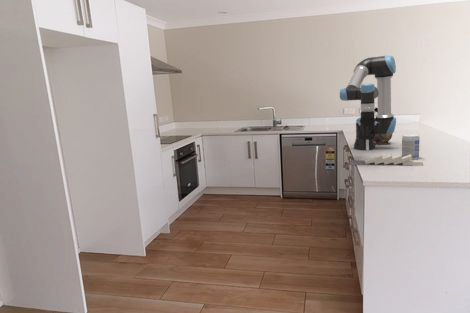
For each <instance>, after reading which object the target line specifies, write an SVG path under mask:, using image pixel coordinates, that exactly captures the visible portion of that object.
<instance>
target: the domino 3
mask: <svg viewBox="0 0 470 313" xmlns="http://www.w3.org/2000/svg"><path fill="white" fill-rule="evenodd" d="M392 157H393V159H391V160H388V161H385V162H384V164H385V165H386V164H389V163H392V162H395V161H398V160H401V159H402V154H398V155H395V156H392Z"/></svg>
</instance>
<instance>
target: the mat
mask: <svg viewBox="0 0 470 313" xmlns="http://www.w3.org/2000/svg"><path fill="white" fill-rule="evenodd" d="M365 160H366V159H365ZM365 160H364V159H363V160H360V159H357V160H353V159H351V160H350V162H349V166H386V167H389V166H390V167H391V166H392V167H394V166H395V167H413V166H414V165H403V162H402V163H399V164H396V165H394V163H393V162H392V163H389V164H386V165H385V164H384V162H382V163H379V164H376V165H375V163H374V162H372V163H369V164H366V163H365Z"/></svg>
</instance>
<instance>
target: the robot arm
mask: <svg viewBox="0 0 470 313" xmlns="http://www.w3.org/2000/svg"><path fill="white" fill-rule="evenodd" d="M396 72H397V68H396V61H395V57H394V56H393V55H381V56H374V57H373V56H372V57H366V58H364V59H362V60H361V61H360V62H358V63H357V64H356V66H355V67H354V69H353V74H352V76H351V78H350V80H349V82H348V83H347V86H346V88H345V87H344V88H341V89H339V99H340V100H341V101H345V102H346V101H347V102H348V101H360V111H361V112H360V117H358V118H356V121H355V134H356V135H355V141H354V143H353V149H354V150H360V151H366V152H369V151H370V150H374V149H375V150H376V143H375V141H374V137H375V134H386V135H387V134H392V135H393V134H394V133H395V129H396V124H397V118H396V117H394V115H395V114H393V113H392V80H391V79H392V78H393V77H394V74H395V73H396ZM372 75H373V76H374V79H376V86H377V87H376V86H375V84H374V83H364V84H363V81H364V79H365V78H366V77H368V76H372ZM375 99H377V108H378V113H377V114H376V115H375V111H374V109H375V108H376V107H375Z"/></svg>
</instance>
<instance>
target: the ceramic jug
mask: <svg viewBox="0 0 470 313" xmlns="http://www.w3.org/2000/svg"><path fill="white" fill-rule="evenodd" d="M373 111H374V113H377V114H378V107H375V109H374V110H373ZM392 137H393V134H387V135H386V134H375V137H374V142H375V145H387V144H389V142H390V141H391V139H392Z"/></svg>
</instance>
